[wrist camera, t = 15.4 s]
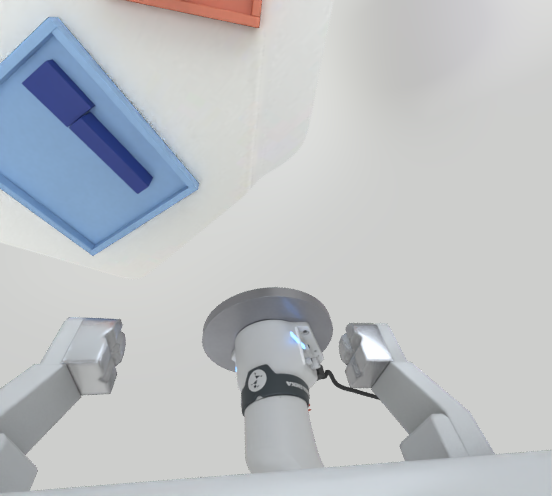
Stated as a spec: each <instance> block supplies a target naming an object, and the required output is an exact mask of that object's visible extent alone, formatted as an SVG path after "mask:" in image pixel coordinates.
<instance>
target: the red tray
mask: <svg viewBox="0 0 552 496" xmlns="http://www.w3.org/2000/svg"><path fill="white" fill-rule="evenodd" d="M126 1H131V2H136V3H140V4H145V5H150V6H155V7H160V8H164V9H169V10H174V11H179V12H184V13H188V14H193V15H198V16H203V17H208V18H212V19H217V20H222V21H227V22H232V23H236V24H241V25H246V26H251V27H256V28H259V24H260V14H261V5H262V0H126Z"/></svg>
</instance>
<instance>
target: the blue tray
mask: <svg viewBox="0 0 552 496" xmlns="http://www.w3.org/2000/svg"><path fill="white" fill-rule="evenodd" d="M51 59H53V60H54V61H55V62H56V63H57V64H58V66H59V67H60V68H61V69H62V70H63V71H64V72H65V73H66V74H67V75H68V76H69V77H70V78H71V80H72V81H73V82H74V83H75V84H76V85H77V86H78V87H79V88H80V89H81V90H82V91H83V92H84V94H85V95H86V96H87V97H88V98H89V99H90V100H91V101H92V102H93V103H94V104H95V106H94V107H93V108H92V109H91V110H90V111H88V112H87V113H89V112H91V113H92V114H93V115H94V116H95V117H96V118H97V119H98V120H99V121H100V122H101V123H102V124H103V125H104V126H105V127H106V128H107V129H108V131H109V132H110V133H111V134H112V135H113V136H114V137H115V138H116V139H117V140H118V141H119V142H120V143H121V144H122V145H123V146H124V147H125V148H126V149H127V150H128V152H129V153H130V154H131V155H132V156H133V157H134V158H135V159H136V160H137V161H138V162H139V163H140V164H141V165H142V166H143V167H144V168H145V169H146V170H147V171H148V173H149V174H150V175H151V176H152V177H153V179H152V181H151V183H150V185H149V187H148V188H146V189H145V190H143V191H142V192H140V193H139V194H137V193H136V192H135V191H134V190H132V189H131V188H130V187H129V186H128V185H127V184H126V183H125V182H124V181H123V180H122V179H121V178H120V177H119V176H118V175H117V174H116V173H115V172H114V171H113V170H112V169H111V168H110V167H109V166H108V165H107V164H106V163H105V162H104V161H102V160H101V159H100V158H99V157H98V156H97V155H96V154H95V153H94V152H93V151H92V150H91V149H90V148H89V147H88V146H87V145H86V144H85V143H84V142H83V141H82V140H81V139H80V138H79V137H78V136H77V135H76V134H75V133H73V132H72V131H71V130H70V129H69V127H66V126H65V125H64V124H63V123H62V122H61V121H60V120H59V119H58V118H57V117H56V116H55V115H54V114H53V113H52V112H51V111H50V110H49V109H48V108H46V107H45V106H44V105H43V104H42V103H41V102H40V101H39V100H38V99H37V98H36V97H35V96H34V95H33V94H32V93H31V92H30V91H29V90H28V89H27V88H26V87H25V86H24V85H23V84H22V82H23V81H24V80H26V79H27V78H28V77H29V76H30V75H31V74H32V73H33V72H34V71H35V70H36V69H38V68H39V67H40V66H41V65H42V64H43V63H44V62H45V61H47V60H51ZM87 113H86V114H87ZM86 114H85V115H86ZM83 116H84V115H83ZM198 186H199V183H198V182H197V181H196V179H195V178H194V177H193V176H192V175H191V173H190V172H189V171H188V170H187V169H186V168H185V166H184V165H183V164H182V163H181V162H180V161H179V159H178V158H177V157H176V156H175V155H174V153H173V152H172V151H171V150H170V149H169V148H168V146H167V145H166V144H165V143H164V142H163V141H162V139H161V138H160V137H159V136H158V135H157V133H156V132H155V131H154V130H153V129H152V128H151V126H150V125H149V124H148V123H147V122H146V120H145V119H144V118H143V117H142V116H141V115H140V113H139V112H138V111H137V110H136V109H135V108H134V106H133V105H132V104H131V103H130V102H129V100H128V99H127V98H126V97H125V96H124V95H123V93H122V92H121V91H120V90H119V89H118V88H117V86H116V85H115V84H114V83H113V82H112V80H111V79H110V78H109V77H108V76H107V75H106V73H105V72H104V71H103V70H102V69H101V67H100V66H99V65H98V64H97V63H96V62H95V60H94V59H93V58H92V57H91V56H90V55H89V53H88V52H87V51H86V50H85V49H84V47H83V46H82V45H81V44H80V43H79V42H78V40H77V39H76V38H75V37H74V36H73V35H72V33H71V32H70V31H69V30H68V29H67V27H66V26H65V25H64V24H63V23H62V22H61V20H60V19H59V18H58V17H48V18H47V19H46V20H45V21H44V22H43V23H42V24H41V25H40V26H39V27H38V28H37V29H36V30H35V31H33V32H32V33H31V34H30V35H29V36H28V37H27V38H26V39H25V40H24V41H23V42H22V43H21V44H20V45H19V46H18V47H17V48H16V49H15V50H14V51H13V52H12V53H11V54H10V55H9V56H8V57H7V58H6V59H4V60H3V61H2V62H1V63H0V189H2V190H3V191H4V192H6V193H7V194H8V195H10V196H11V197H13V198H14V199H15V200H17V201H18V202H19V203H21V204H22V205H24V206H25V207H26V208H28V209H29V210H30V211H32V212H33V213H35V214H36V215H37V216H39V217H40V218H41V219H43V220H44V221H46V222H47V223H48V224H50V225H51V226H52V227H54V228H55V229H57V230H58V231H59V232H61V233H62V234H63V235H65V236H66V237H68V238H69V239H70V240H72V241H73V242H74V243H76V244H77V245H79V246H80V247H81V248H83V249H84V250H86V251H87V252H88V253H89V254H91V255H92V256H94V255H95V254H97V253H98V252H100V251H102V250H103V249H105V248H106V247H108V246H109V245H111V244H113V243H114V242H116V241H117V240H119V239H121V238H122V237H124V236H125V235H127V234H128V233H130V232H132V231H133V230H135V229H136V228H138V227H139V226H141V225H143V224H144V223H146V222H147V221H149V220H150V219H152V218H154V217H155V216H157V215H158V214H160V213H161V212H163V211H165V210H166V209H168V208H169V207H171V206H172V205H174V204H176V203H177V202H179V201H180V200H182V199H183V198H185V197H187V196H188V195H190V194H191V193H193V192H194V191H196V190H198Z"/></svg>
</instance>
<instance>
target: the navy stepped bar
mask: <svg viewBox="0 0 552 496" xmlns="http://www.w3.org/2000/svg"><path fill="white" fill-rule="evenodd" d="M22 84H23V85H24V86H25V87H26V88H27V89H28V90H29V91H30V92H31V93H32V94H33V95H34V96H35V97H36V98H37V99H38V100H39V101H40V102H41V103H42V104H43V105H44V106H45V107H46V108H48V109H49V110H50V111H51V112H52V113H53V114H54V115H55V116H56V117H57V118H58V119H59V120H60V121H61V122H62V123H63V124H64V125H65V126H66V127H69V129H70V130H71V131H72V132H73V133H75V134H76V135H77V136H78V137H79V138H80V139H81V140H82V141H83V142H84V143H85V144H86V145H87V146H88V147H89V148H90V149H91V150H92V151H93V152H94V153H95V154H96V155H97V156H98V157H99V158H100V159H101V160H102V161H104V162H105V163H106V164H107V165H108V166H109V167H110V168H111V169H112V170H113V171H114V172H115V173H116V174H117V175H118V176H119V177H120V178H121V179H122V180H123V181H124V182H125V183H126V184H127V185H128V186H129V187H130V188H131V189H132V190H134V191H135V192H136V193H137V194H139V193H140V192H142V191H143V190H145V189H146V188H148V187H149V185H150V183H151V181H152V179H153V177H152V176H151V175H150V174H149V173H148V171H147V170H146V169H145V168H144V167H143V166H142V165H141V164H140V163H139V162H138V161H137V160H136V159H135V158H134V157H133V156H132V155H131V154H130V153H129V152H128V150H127V149H126V148H125V147H124V146H123V145H122V144H121V143H120V142H119V141H118V140H117V139H116V138H115V137H114V136H113V135H112V134H111V133H110V132H109V131H108V129H107V128H106V127H105V126H104V125H103V124H102V123H101V122H100V121H99V120H98V119H97V118H96V117H95V116H94V115H93V114H92V113H91V112H89V113H87V112H88V111H90V110H91V109H92V108H93V107H94V106H95V104H94V103H93V102H92V101H91V100H90V99H89V98H88V97H87V96H86V95H85V94H84V92H83V91H82V90H81V89H80V88H79V87H78V86H77V85H76V84H75V83H74V82H73V81H72V80H71V78H70V77H69V76H68V75H67V74H66V73H65V72H64V71H63V70H62V69H61V68H60V67H59V66H58V64H57V63H56V62H55V61H54V60H53V59H51V60H47V61H45V62H44V63H43V64H42V65H41V66H40V67H39V68H38V69H36V70H35V71H34V72H33V73H32V74H31V75H30V76H29V77H28V78H27V79H26V80H24V81H23V82H22ZM86 113H87V114H86ZM85 114H86V115H85ZM83 115H84V116H83Z"/></svg>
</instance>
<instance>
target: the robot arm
mask: <svg viewBox="0 0 552 496" xmlns="http://www.w3.org/2000/svg"><path fill="white" fill-rule="evenodd" d="M121 328H122V322H121V320H120V319H103V318H76V317H75V318H74V317H69V318H68V319H67V320H66V321H64V323H63V325H62V327H61V328H60V330H59V332H58V333H57V335H56V337H55V338H54V340H53V342H52V344H51V345H50V347H49V349H48V350H47V352H46V354H45V356H44V357H43V359H42V361H41V363H40V364H34V365H33V366H31V367H30V368H28V369H27V370H26V371H24V372H23V373H22V374H20V375H19V376H17V377H16V378H15V379H13V380H12V381H10V382H9V383H7V384H6V385H5V386H3V387H2V388H1V389H0V496H552V450H545V451H531V452H519V453H506V454H495V453H494V452H493V450H492V448H491V447H490V445H489V444H488V442H487V440H486V438H485V437H484V435H483V433H482V432H481V430H480V428H479V427H478V425H477V423H476V421H475V420H474V418H473V417H472V415H471V413H470V411H468V410H467V409H466V408H465V407H463V406H462V405H461V404H460V403H459V402H458V401H457V400H455V399H454V398H453V397H452V396H450V394H448V393H447V392H446V391H445V390H444V389H442V388H441V387H440V386H439V385H438V384H437V383H435V382H434V381H433V380H432V379H431V378H429V377H428V376H427V375H426V374H425V373H424V372H422V371H421V370H420V369H419V368H418V367H416V366H415V365H414V364H413V363H412V362H407V360H406V358H405V356H404V354H403V352H402V350H401V348H400V346H399V344H398V342H397V341H396V339H395V337H394V335H393V333H392V331H391V329H390V327H389V326H388V325H387V324H373V323H349V324H348V325H347V327H346V332H347V333H346V334H344V335H343V336H342V337H341V339H340V342H339V352H340V356H341V360H342V361H343V362H344V363H345V364H346V365H347V367H346V370H345V373H346V376H347V379H348V382H349V385H350V388H349V387H345V386H343V385H341V384H339V383H338V382H337V381H336V380H335V378H334V376H333V374H332V372H331V371H330V370H326V371H325V373H324V371H323V367H322V365H320V363H321V362H322V361H323V360H324V357H323V354H322V351H321V349H320V347H319V345H318V343H317V341H316V338H315V336H314V334H313V332H312V330H311V328H310V326H309V324H308V323H307V322H288V321H284V320H264V321H259V322H256V323H253V324H251V325H249V326H247V327H245V328H244V329H243V330H241V331H240V332H239V333H238V335H237V336H236V339H235V349H234V350H233V352H232V354H231V358H232V360H233V361H234V362H236V373H237V384H238V388H239V390H240V391H241V392H242V393H241V407H242V414H243V416H244V417H245V459H246V463H247V466H248V468H249V470H250V472H251V474H238V475H225V476H214V477H200V478H187V479H176V480H162V481H150V482H136V483H123V484H111V485H98V486H85V487H72V488H60V489H48V490H35V491H30V488H31V486H32V484H33V481H34V479H35V477H36V474H37V472H38V470H37V468H36V466H35V465H34V464H33V463H32V462H31V461H30V460H29V459H28V458H27V457H26V456H25V455H26V454H27V452H28V451H29V450H30V449H31V448H32V447H33V446H34V445H35V444H36V443H37V442H38V441H39V440H40V439H41V438H42V437H43V436H44V435H45V434H46V433H47V432H48V431H49V430H50V429H51V428H52V426H54V425H55V424H56V423H57V422H58V420H59V419H61V417H62V416H63V415H64V414H65V413H66V412H67V411H68V410H69V409H70V408H71V407H72V406H73V405H74V404H75V403H76V402H77V401H78V400H79V399H80V398H81V395H97V394H110V393H111V390H112V388H113V385H114V381H115V379H116V376H117V372H116V368H115V366H117V365H118V364H119V363H120V362H121V361H122V358H123V355H124V351H125V345H126V344H125V334H124V333H123V332H121ZM328 375H329V376H330V378H331V380H332V382H333V383H334V385H335V386H336V387H338V388H340V389H343V390H346V391H350V392H354V393H357V394H360V395H364V396H367V397H371V398H375V399H379V400H381V402H382V403H383V404H384V405H385V406H386V408H388V410H389V411H390V412H391V413H392V415H393V416H394V417H395V418H396V419H397V420H398V422H399V423H400V424H401V425H402V426H403V428H404V429H405V430H406V431H407V432H408V434H409V436H408V437H407V438H405V439H404V440H403V441H402V442H401V444H400V449H401V451H402V454H403V457H404V459H405V461H404V462H391V463H378V464H366V465H353V466H340V467H328V468H324V465H323V463H322V461H321V459H320V456H319V453H318V450H317V447H316V443H315V439H314V435H313V431H312V427H311V422H310V418H309V412H308V411H310V410H311V409H308V407H309V406H310V404H309V399H310V397H309V396H310V395H309V389H310V388H311V387H312V386H313V385H314V384H315V382H316V381H318V380H319V379H325V378H327V376H328ZM353 388H372V389H371V390H372V391H373V392H374V393H375V395H374V394H370V393H367V392H363V391H360V390H357V389H353Z"/></svg>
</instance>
